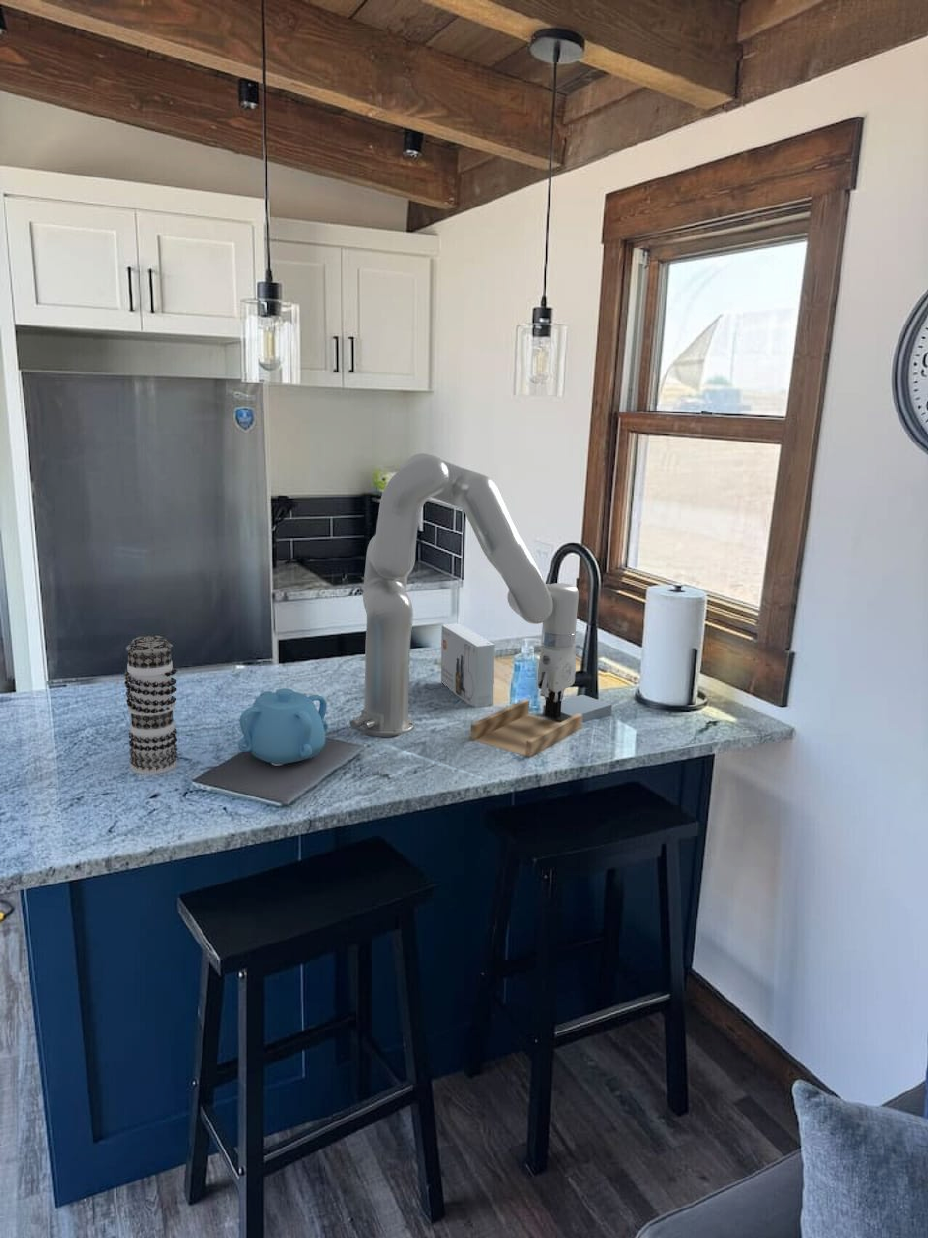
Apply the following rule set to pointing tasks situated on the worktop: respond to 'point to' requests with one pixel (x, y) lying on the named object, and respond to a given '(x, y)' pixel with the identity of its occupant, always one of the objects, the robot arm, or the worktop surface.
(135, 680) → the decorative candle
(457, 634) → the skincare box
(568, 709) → the slate cover plate
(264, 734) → the decorative pot
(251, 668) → the worktop surface
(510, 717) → the wooden tray
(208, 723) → the worktop surface
